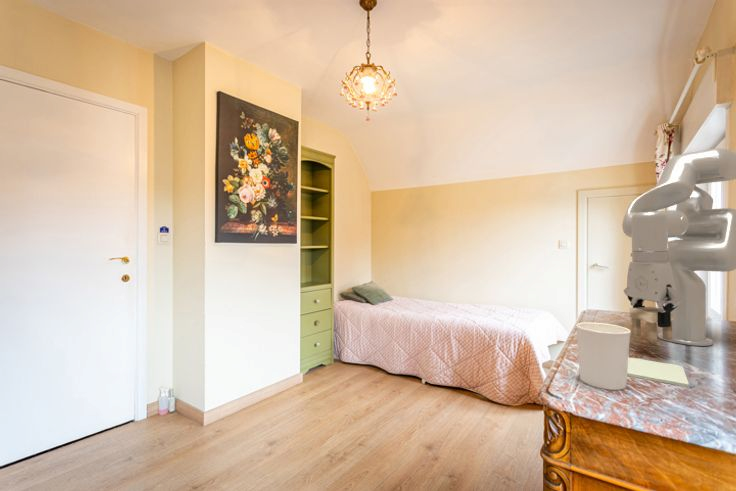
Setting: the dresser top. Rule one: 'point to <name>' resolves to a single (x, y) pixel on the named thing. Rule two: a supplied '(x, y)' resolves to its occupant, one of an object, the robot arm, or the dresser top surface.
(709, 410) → the dresser top surface
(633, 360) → the felt mat
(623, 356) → the candle holder
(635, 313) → the footstool
